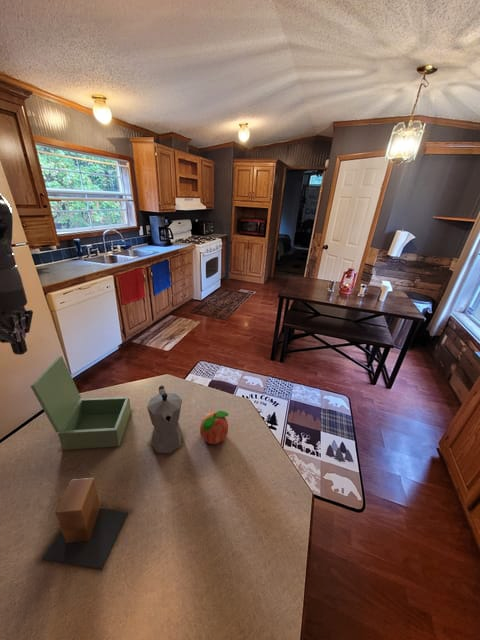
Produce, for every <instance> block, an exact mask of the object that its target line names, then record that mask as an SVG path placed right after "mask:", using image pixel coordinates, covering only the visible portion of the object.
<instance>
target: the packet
mask: <svg viewBox="0 0 480 640" xmlns="http://www.w3.org/2000/svg"><path fill="white" fill-rule="evenodd" d="M100 508H101V503H100V499H99V495H98V491H97V486H96V482H95V477H88V478H76V479H75V478H74V479H70V481H69V483H68V486H67V487H66V489H65V491H64V494H63V496H62V499H61V500H60V502H59V505H58V507H57V508H56V511H55V515H56V518H57V522H58V524H59V527H60V531H61V530H62V533H63V536H64V539H65V542H66V543H71V542H79V541H88V540H90V537H91V534H92V531H93V528H94V525H95V522H96V519H97V516H98V513H99V510H100Z"/></svg>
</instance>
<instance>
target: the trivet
mask: <svg viewBox="0 0 480 640" xmlns="http://www.w3.org/2000/svg"><path fill="white" fill-rule="evenodd" d="M128 514H129V512H127V511H121V510H115V509H109V508H102V507H100V510H99V513H98V516H97V519H96V522H95V525H94V528H93V531H92V534H91V537H90V540H88V541H79V542H71V543H66V542H65V539H64V536H63V533H62V530H61V529H60V530H59V532H58V533H57V535H56V537H55V538H54V540H53V541H52V543H51V544H50V546H49V547H48V549H47V551H46V552H45V553H44V555H43V557H42V558H41V559H42V561H47V562H48V561H49V562H54V563H61V564H65V565H72V566H77V567H82V568H88V569H93V570H94V569H95V570H100V571H102V570H103V568H104V566H105V564H106V561H107V560H108V557H109V555H110V553H111V551H112V549H113V547H114V544H115V542H116V540H117V538H118V536H119V534H120V531H121V529H122V528H123V525H124V523H125V520H126V519H127V517H128Z"/></svg>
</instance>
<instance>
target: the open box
mask: <svg viewBox="0 0 480 640" xmlns="http://www.w3.org/2000/svg"><path fill="white" fill-rule="evenodd" d="M131 408H132V407H131V401H130V396H116V397H115V396H114V397H113V396H112V397H91V398H90V397H89V398H87V397H86V398H80V400H79V401H78V403H77V404H76V406H75V408H74V409H73V411H72V412H71V414H70V415H69V417H68V419H67V420H66V422H65V423H64V425H63V427H62V428H61V430H60V431H59V432H57V435H58V438H59V442H60V445H61V449H62V450H79V449H93V448H94V449H95V448H108V447H109V448H110V447H119V446H121V445H120V444H121V441H122V439H123V437H124V433H125V430H126V427H127V424H128V422H129V419H130V415H131V412H132V409H131Z"/></svg>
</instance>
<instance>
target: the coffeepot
mask: <svg viewBox="0 0 480 640" xmlns="http://www.w3.org/2000/svg"><path fill="white" fill-rule="evenodd" d="M158 393H159V394H156V395H154V396H152V397H150V400H149V402H148V404H147V406H146V408H147V412H148V414H149V415H148V416H149V418H150V422H151V425H152V426H153V430H152V435H151V442H150V446H151V447H152V448H153V449H154V451H155V452H156V453H157V454H171V453H172V452H174V451H175V450H177V449H179V448H180V447H181V444H182V440H183V433H182V429H181V425H180V423H179V421H180V417H181V410H182V403H183V399H182V398H181V397H180V396H179V395H178V394H177V393H175V392H166V388H165V385H160V386H159V387H158Z"/></svg>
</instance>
